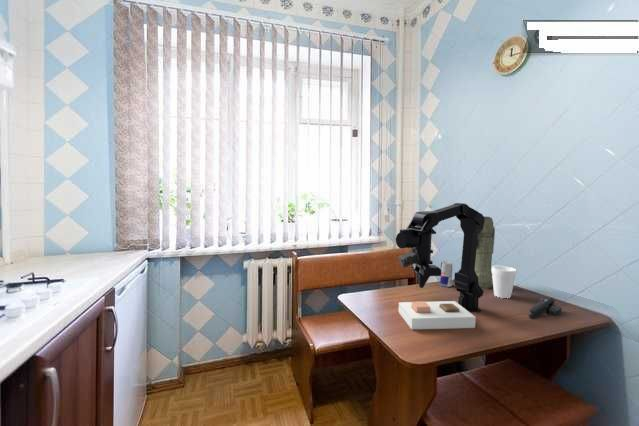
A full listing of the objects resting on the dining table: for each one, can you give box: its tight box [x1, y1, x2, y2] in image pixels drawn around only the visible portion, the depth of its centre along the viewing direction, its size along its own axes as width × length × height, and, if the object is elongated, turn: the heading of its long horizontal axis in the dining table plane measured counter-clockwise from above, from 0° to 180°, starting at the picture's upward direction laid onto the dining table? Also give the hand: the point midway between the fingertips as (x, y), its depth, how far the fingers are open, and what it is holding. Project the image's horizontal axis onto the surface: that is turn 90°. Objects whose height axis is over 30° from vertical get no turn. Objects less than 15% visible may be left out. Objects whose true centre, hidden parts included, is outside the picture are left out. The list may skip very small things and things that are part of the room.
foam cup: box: [491, 265, 517, 300], centre depth 130 cm, size 10×9×13 cm
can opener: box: [528, 297, 563, 320], centre depth 112 cm, size 18×7×6 cm, turn 117°
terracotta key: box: [411, 300, 430, 313], centre depth 107 cm, size 5×5×4 cm
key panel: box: [398, 300, 477, 330], centre depth 108 cm, size 23×14×4 cm, turn 93°
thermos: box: [475, 216, 496, 289], centre depth 143 cm, size 9×12×35 cm
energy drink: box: [439, 260, 453, 288], centre depth 144 cm, size 5×5×12 cm
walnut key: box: [440, 304, 459, 312], centre depth 108 cm, size 5×5×4 cm
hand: (421, 287), depth 106 cm, fingers closed
